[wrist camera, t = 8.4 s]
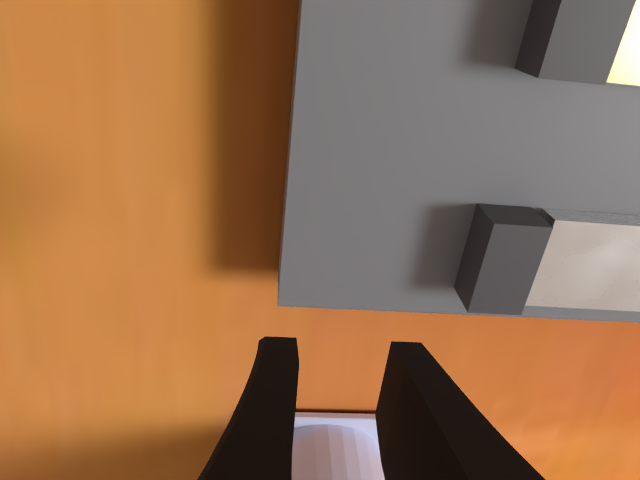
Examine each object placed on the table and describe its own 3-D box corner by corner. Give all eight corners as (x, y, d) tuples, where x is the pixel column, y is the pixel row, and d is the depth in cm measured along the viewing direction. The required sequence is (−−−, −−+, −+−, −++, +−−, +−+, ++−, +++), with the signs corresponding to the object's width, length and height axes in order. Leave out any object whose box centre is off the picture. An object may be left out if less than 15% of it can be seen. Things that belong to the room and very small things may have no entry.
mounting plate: (783, 298, 24) (879, 360, 20) (278, 271, 21) (277, 336, 17) (1005, -38, 17) (1211, -41, 13) (310, -139, 14) (320, -179, 11)
